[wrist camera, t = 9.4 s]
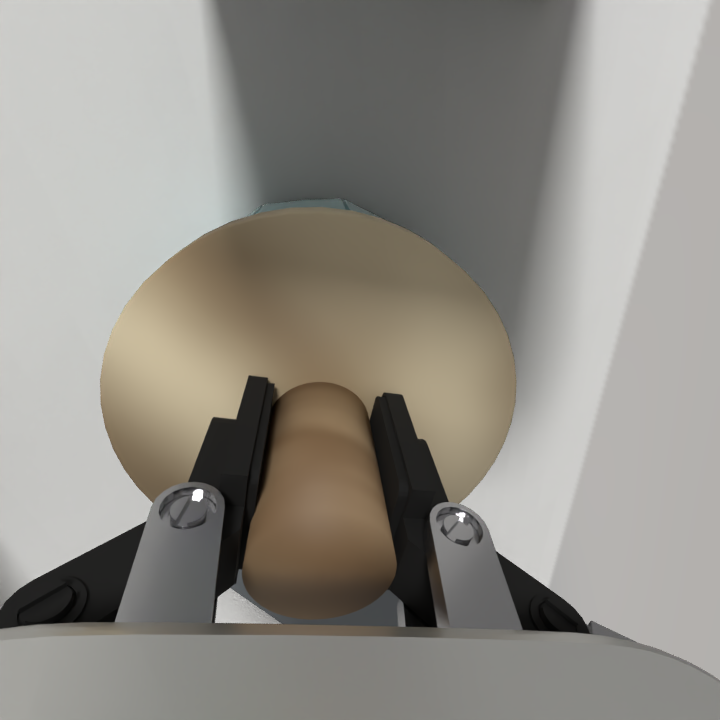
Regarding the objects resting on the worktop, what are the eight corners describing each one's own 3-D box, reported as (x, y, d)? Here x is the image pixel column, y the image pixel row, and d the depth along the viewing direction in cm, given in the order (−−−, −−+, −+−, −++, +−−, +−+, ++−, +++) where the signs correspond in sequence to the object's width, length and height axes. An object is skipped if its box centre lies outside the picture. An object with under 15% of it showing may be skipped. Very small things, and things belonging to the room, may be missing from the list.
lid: (289, 573, 17) (277, 765, 12) (26, 371, 12) (-206, 554, 7) (553, 427, 15) (687, 587, 9) (371, 99, 10) (439, 46, 4)
